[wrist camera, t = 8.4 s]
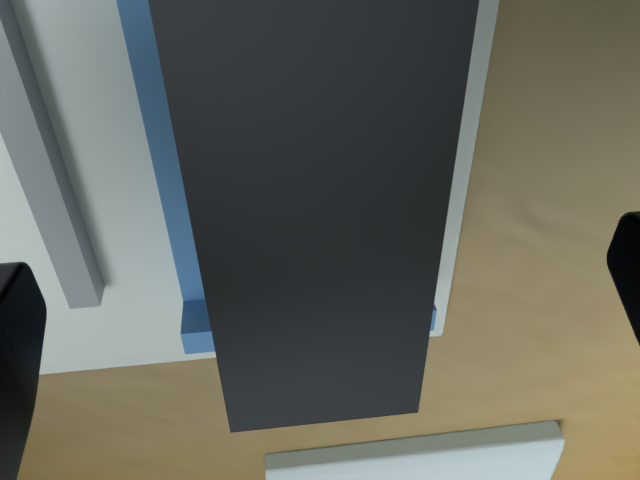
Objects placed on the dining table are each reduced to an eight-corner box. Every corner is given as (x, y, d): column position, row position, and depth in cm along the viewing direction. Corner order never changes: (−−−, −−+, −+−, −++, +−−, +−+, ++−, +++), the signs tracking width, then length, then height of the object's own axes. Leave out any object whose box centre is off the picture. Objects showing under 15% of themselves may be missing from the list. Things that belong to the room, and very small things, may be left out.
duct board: (436, 317, 21) (459, 384, 18) (-119, 370, 19) (-163, 449, 17) (564, -504, 9) (667, -581, 7) (-787, -523, 8) (-1183, -629, 6)
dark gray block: (371, 248, 17) (417, 412, 13) (231, 260, 17) (230, 432, 13) (393, -177, 11) (498, -129, 7) (168, -170, 10) (126, -115, 6)
